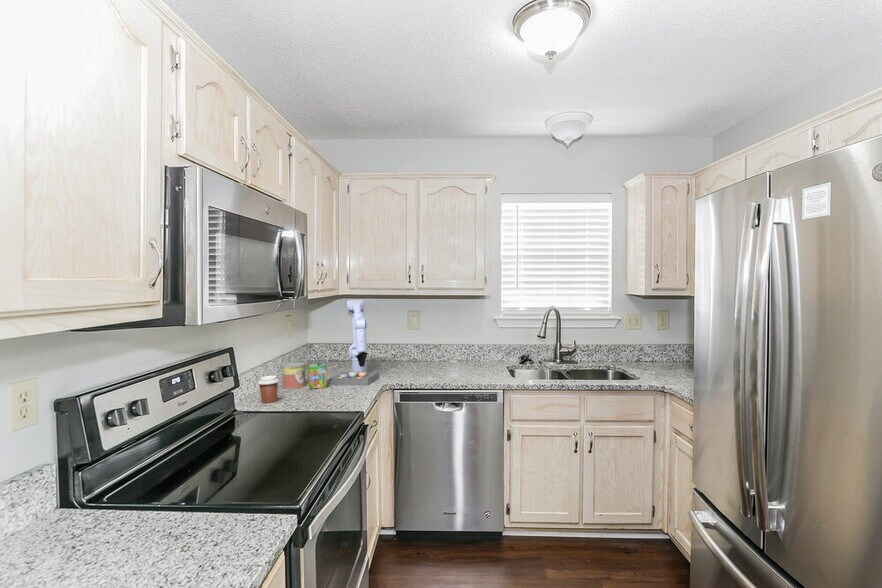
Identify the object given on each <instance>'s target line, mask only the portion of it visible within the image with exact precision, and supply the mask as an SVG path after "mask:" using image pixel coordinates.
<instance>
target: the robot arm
mask: <svg viewBox="0 0 882 588" xmlns="http://www.w3.org/2000/svg"><path fill="white" fill-rule="evenodd" d="M346 309H347V311H346V312H347V315H349V316H350V317H351V322H352V325H351V326H352V341H353V343H352V344H351V345H349V347H348V357H349V360H351V368H352V369H351V370H352V371H351V372H368V370H367V369H368V366H367V365H368V364H367V356H368V355H369V353H368V351H369V347H368V346H367V329H368V325H367V324H368V323H367V319H366V318H365V315H364V312H365V300H364V299H350V300H349V299H347V300H346Z"/></svg>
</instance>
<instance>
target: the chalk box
mask: <svg viewBox="0 0 882 588" xmlns="http://www.w3.org/2000/svg"><path fill="white" fill-rule="evenodd" d="M320 360H321V359H320V358H317V362H316V363H309V364H307V381H308V382H307V383H308V384H307V386H308V389H309V390H315V388H317V389H325V388H326V387H327V388H328V386H329V385H328V367H327V364H326V363H325V362H324V363H323V362H322V363H320Z"/></svg>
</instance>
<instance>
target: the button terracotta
mask: <svg viewBox="0 0 882 588" xmlns="http://www.w3.org/2000/svg"><path fill="white" fill-rule="evenodd" d="M359 377H366V372H359Z"/></svg>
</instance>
